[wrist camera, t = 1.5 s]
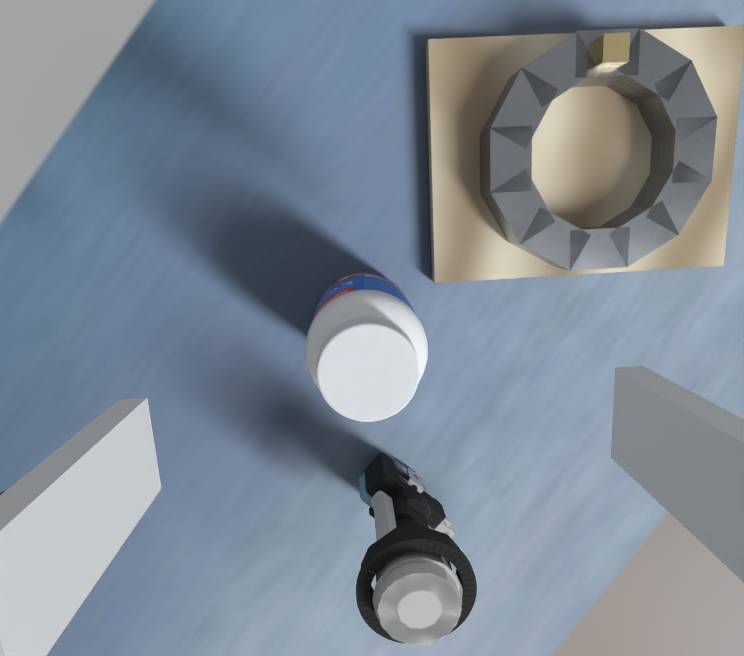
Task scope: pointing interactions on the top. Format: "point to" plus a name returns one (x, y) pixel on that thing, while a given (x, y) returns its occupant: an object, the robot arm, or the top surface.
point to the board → (566, 153)
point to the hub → (668, 147)
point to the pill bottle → (366, 348)
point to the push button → (410, 561)
